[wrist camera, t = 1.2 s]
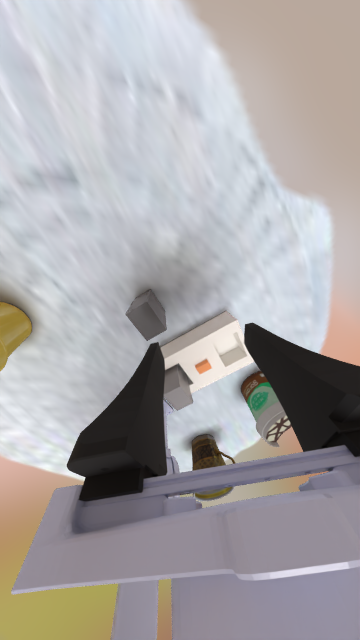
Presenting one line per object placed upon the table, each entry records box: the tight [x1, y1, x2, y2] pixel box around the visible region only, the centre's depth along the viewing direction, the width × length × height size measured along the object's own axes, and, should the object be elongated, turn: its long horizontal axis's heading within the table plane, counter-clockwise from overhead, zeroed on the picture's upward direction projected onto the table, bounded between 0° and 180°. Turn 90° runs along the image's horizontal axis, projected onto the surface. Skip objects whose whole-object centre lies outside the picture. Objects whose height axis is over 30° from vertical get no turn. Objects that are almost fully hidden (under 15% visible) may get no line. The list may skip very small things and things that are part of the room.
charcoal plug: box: [164, 363, 193, 411], centre depth 25 cm, size 3×4×7 cm
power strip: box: [160, 311, 255, 393], centre depth 27 cm, size 17×10×5 cm, turn 118°
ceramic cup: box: [192, 434, 235, 501], centre depth 37 cm, size 13×10×10 cm
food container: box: [241, 371, 292, 447], centre depth 30 cm, size 12×6×10 cm, turn 165°
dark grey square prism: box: [126, 289, 167, 341], centre depth 21 cm, size 3×4×7 cm
